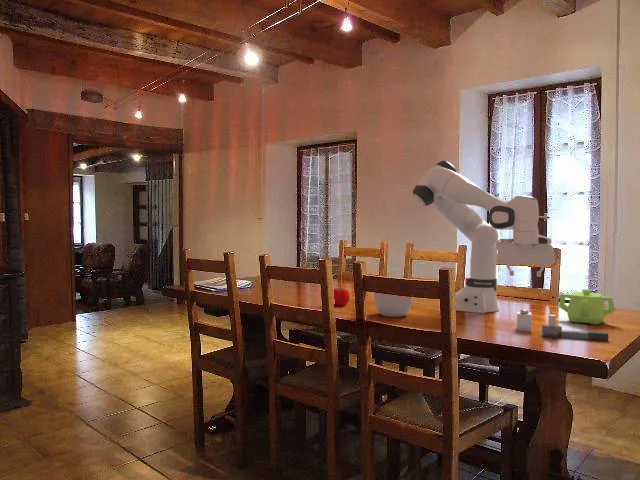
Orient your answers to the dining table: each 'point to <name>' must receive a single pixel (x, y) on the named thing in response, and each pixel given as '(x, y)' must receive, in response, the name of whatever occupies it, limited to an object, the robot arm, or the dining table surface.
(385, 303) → the white rounded bowl
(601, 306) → the teapot
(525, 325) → the cube with grey knob
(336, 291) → the tomato
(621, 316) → the dining table surface
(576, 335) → the ratchet
